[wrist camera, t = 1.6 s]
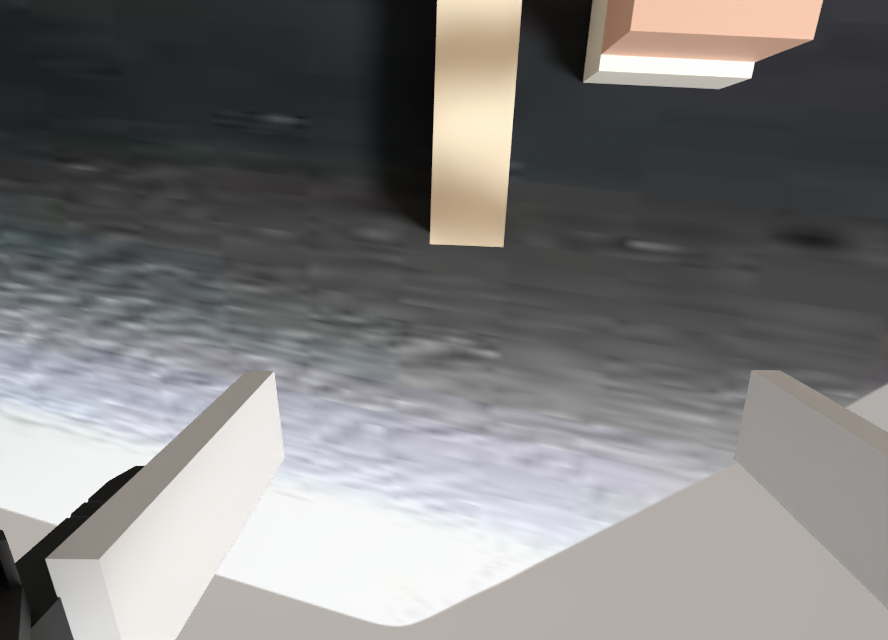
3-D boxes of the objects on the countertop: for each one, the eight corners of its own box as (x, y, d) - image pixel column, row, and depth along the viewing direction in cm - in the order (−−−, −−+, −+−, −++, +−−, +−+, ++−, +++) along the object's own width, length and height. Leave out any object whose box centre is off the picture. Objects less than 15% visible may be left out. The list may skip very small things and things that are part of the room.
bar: (494, 236, 30) (503, 246, 25) (432, 233, 30) (429, 244, 25) (518, -104, 25) (535, -172, 20) (443, -107, 25) (442, -176, 20)
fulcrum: (582, 82, 27) (627, 50, 20) (594, -18, 25) (647, -89, 19) (718, 89, 27) (808, 59, 20) (738, -11, 26) (842, -79, 19)
